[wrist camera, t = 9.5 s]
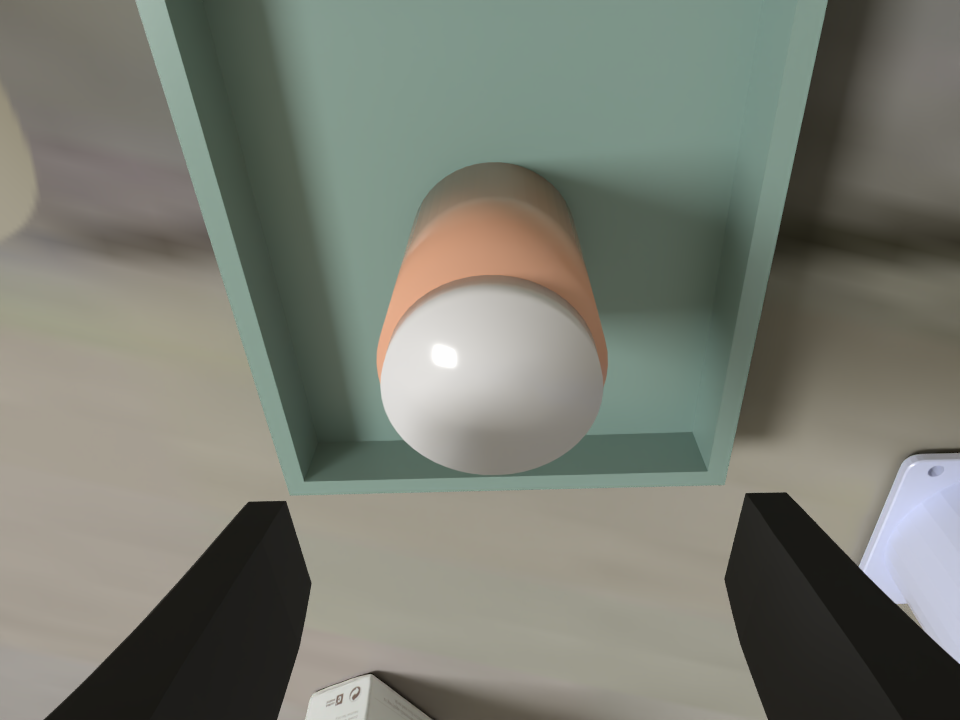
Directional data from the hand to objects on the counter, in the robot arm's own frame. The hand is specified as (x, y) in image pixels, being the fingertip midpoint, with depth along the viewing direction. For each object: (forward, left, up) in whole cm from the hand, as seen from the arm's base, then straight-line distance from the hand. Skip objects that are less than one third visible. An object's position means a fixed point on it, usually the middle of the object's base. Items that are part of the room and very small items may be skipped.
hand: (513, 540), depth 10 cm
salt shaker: (0, -1, -10) cm, 10 cm away
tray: (0, -1, -10) cm, 10 cm away
